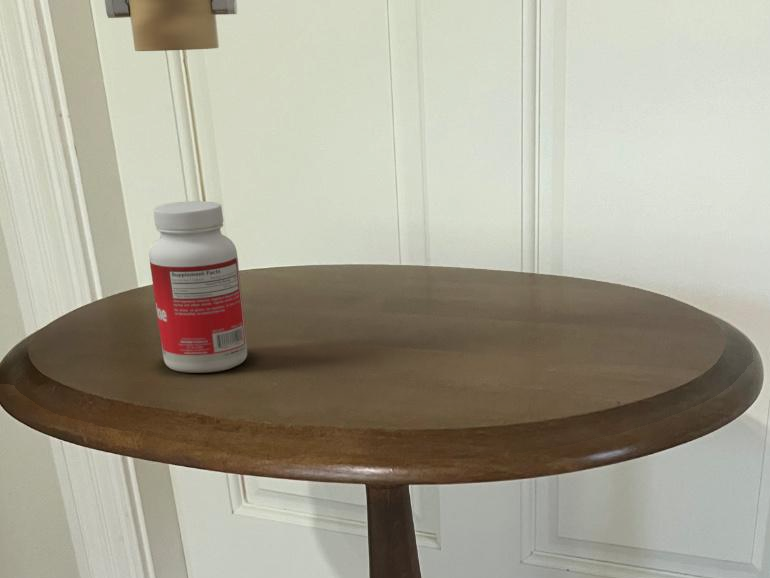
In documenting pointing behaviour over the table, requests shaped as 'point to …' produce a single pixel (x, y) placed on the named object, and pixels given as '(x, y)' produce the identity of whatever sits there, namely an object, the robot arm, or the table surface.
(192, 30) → the squat tan drum
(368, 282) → the table surface
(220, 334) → the pill bottle
